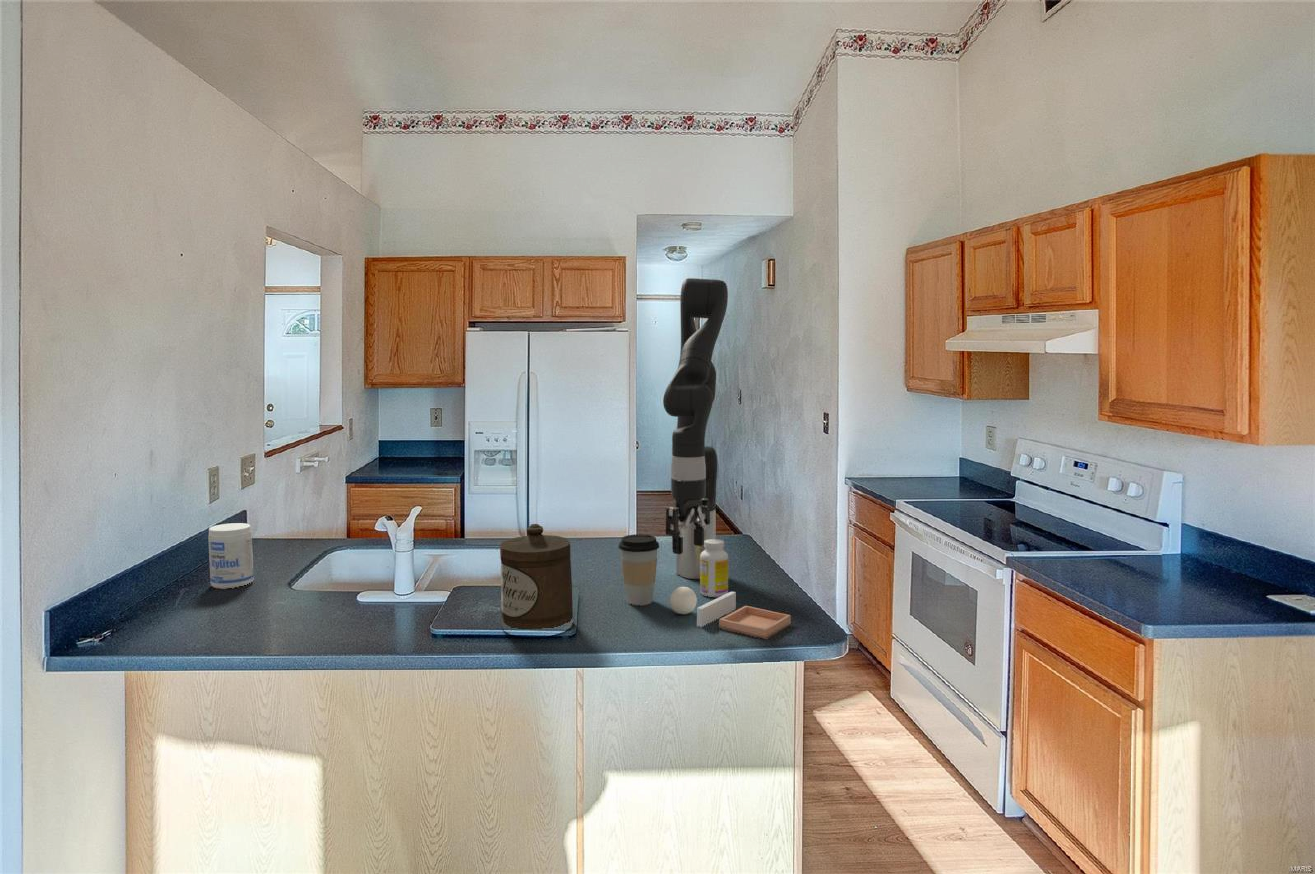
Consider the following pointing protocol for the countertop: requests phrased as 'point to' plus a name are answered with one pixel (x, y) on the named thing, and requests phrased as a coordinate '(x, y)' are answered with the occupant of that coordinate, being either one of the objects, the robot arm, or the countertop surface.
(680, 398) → the robot arm
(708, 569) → the supplement bottle
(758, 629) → the dish
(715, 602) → the wall
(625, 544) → the coffee cup
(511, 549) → the wooden container
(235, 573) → the supplement tub
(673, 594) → the ball
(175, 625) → the countertop surface
